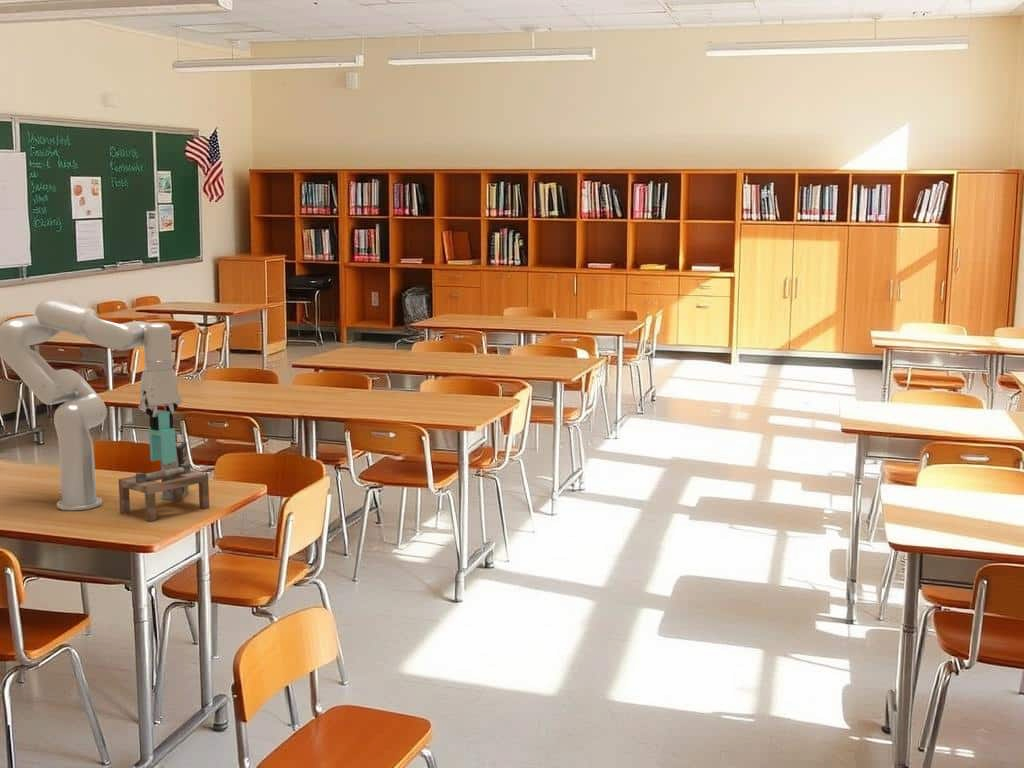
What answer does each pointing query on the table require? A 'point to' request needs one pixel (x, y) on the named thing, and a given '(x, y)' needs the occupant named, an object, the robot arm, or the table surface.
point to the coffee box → (180, 459)
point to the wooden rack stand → (162, 487)
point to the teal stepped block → (163, 440)
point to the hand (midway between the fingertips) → (161, 428)
